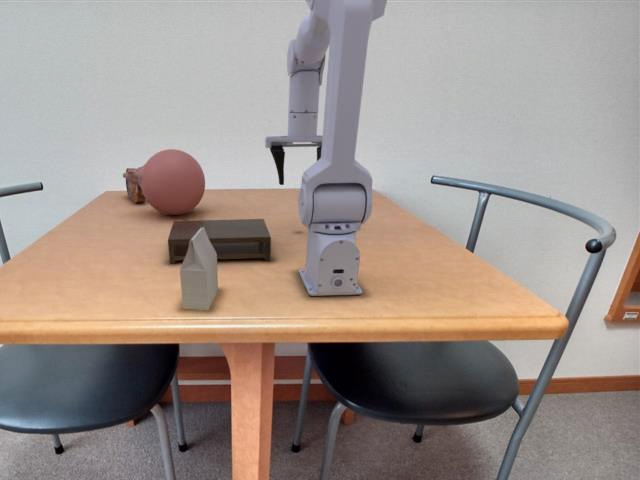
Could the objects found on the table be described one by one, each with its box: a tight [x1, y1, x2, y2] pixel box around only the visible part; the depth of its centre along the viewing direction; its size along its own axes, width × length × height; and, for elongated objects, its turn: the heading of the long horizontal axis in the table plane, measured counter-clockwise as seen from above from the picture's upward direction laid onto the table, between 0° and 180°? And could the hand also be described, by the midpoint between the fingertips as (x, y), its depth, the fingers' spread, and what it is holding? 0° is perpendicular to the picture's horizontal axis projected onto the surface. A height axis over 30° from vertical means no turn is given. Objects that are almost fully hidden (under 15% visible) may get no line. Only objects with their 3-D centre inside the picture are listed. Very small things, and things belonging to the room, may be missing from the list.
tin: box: [125, 167, 147, 204], centre depth 121 cm, size 15×3×8 cm, turn 25°
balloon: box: [122, 148, 206, 216], centre depth 105 cm, size 15×20×15 cm
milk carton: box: [179, 227, 219, 311], centre depth 62 cm, size 4×7×10 cm, turn 171°
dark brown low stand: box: [167, 218, 272, 265], centre depth 82 cm, size 12×18×4 cm, turn 93°
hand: (299, 183), depth 90 cm, fingers open, 7 cm apart
